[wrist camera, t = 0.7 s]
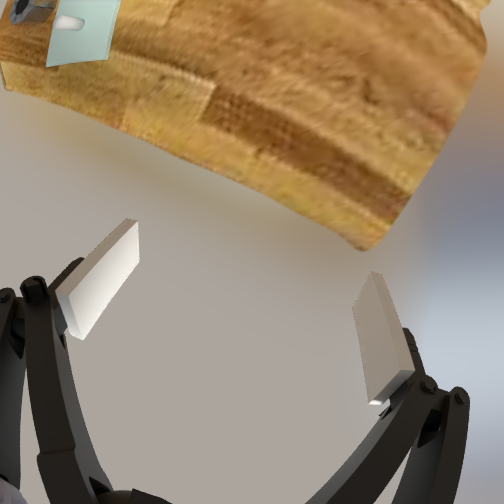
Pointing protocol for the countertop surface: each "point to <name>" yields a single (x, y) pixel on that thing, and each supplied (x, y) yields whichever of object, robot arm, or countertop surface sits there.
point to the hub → (31, 11)
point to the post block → (82, 31)
